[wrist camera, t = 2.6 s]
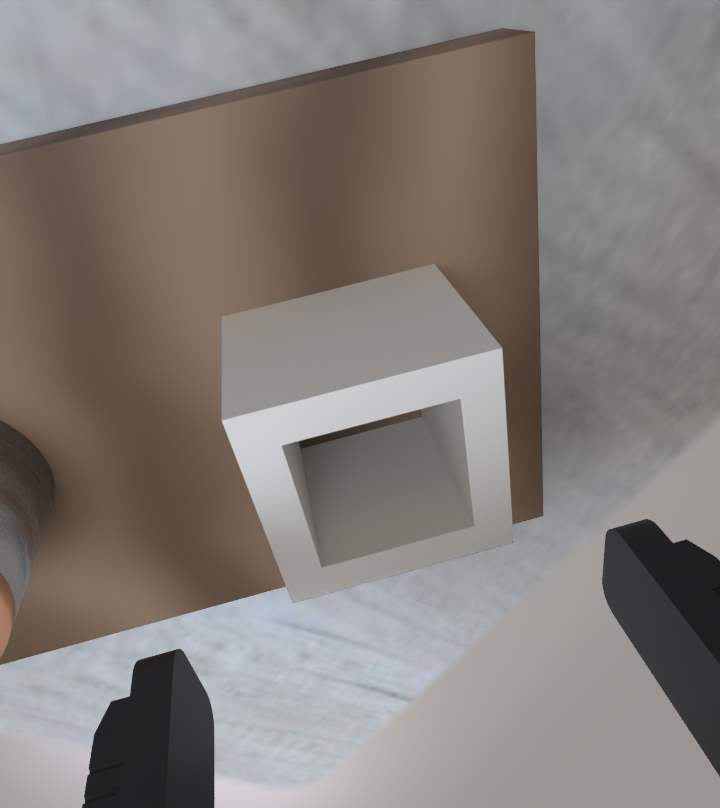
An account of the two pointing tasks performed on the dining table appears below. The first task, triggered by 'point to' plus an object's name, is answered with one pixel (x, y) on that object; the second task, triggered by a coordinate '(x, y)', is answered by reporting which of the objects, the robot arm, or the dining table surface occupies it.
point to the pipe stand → (232, 309)
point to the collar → (376, 449)
